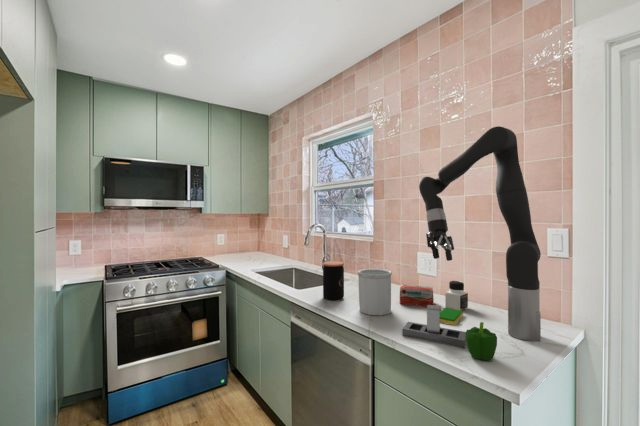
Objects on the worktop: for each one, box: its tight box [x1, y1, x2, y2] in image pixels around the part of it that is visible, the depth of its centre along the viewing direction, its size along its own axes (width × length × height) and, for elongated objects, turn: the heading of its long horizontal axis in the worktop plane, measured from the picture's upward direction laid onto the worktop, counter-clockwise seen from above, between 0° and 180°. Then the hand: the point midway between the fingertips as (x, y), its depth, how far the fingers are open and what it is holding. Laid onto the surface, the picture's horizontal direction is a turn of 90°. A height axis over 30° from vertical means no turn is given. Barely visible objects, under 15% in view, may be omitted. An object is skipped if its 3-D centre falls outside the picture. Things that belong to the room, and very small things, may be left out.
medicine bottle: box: [444, 280, 469, 312], centre depth 137 cm, size 7×7×12 cm
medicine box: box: [399, 284, 435, 308], centre depth 144 cm, size 15×8×8 cm, turn 72°
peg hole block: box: [401, 321, 467, 349], centre depth 105 cm, size 20×8×2 cm, turn 59°
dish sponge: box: [440, 307, 463, 326], centre depth 124 cm, size 7×14×2 cm, turn 142°
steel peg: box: [426, 304, 441, 335], centre depth 105 cm, size 4×4×10 cm
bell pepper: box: [465, 321, 498, 362], centre depth 91 cm, size 8×8×10 cm
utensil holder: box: [357, 268, 393, 316], centre depth 134 cm, size 15×15×18 cm
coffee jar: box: [322, 260, 345, 302], centre depth 154 cm, size 11×11×18 cm
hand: (443, 259), depth 122 cm, fingers open, 8 cm apart
